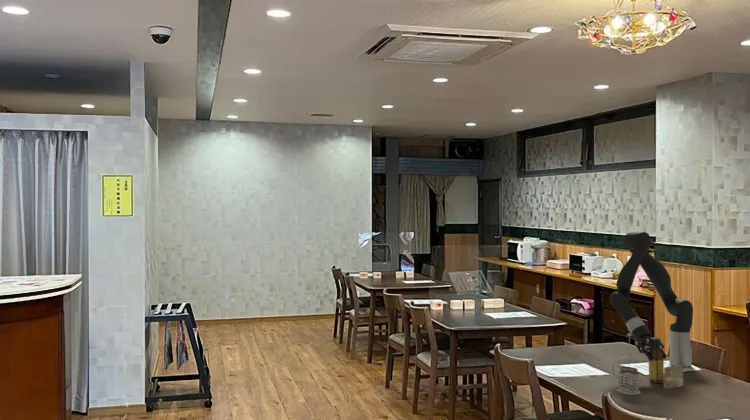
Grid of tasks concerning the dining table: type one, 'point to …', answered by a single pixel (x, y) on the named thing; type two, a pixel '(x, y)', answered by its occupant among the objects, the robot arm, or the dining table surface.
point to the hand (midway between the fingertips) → (658, 358)
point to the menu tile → (673, 376)
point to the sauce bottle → (656, 362)
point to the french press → (628, 375)
